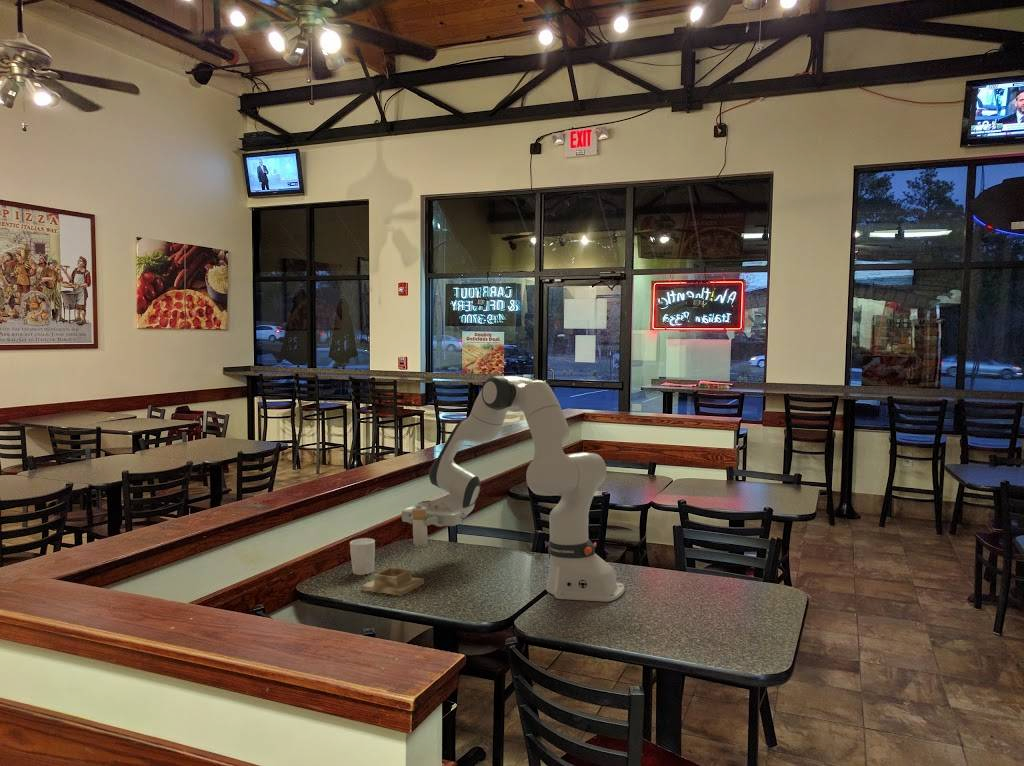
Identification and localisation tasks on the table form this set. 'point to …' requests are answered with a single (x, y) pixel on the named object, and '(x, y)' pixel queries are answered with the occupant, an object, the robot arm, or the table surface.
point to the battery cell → (419, 525)
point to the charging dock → (393, 582)
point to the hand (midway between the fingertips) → (418, 521)
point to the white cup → (362, 555)
